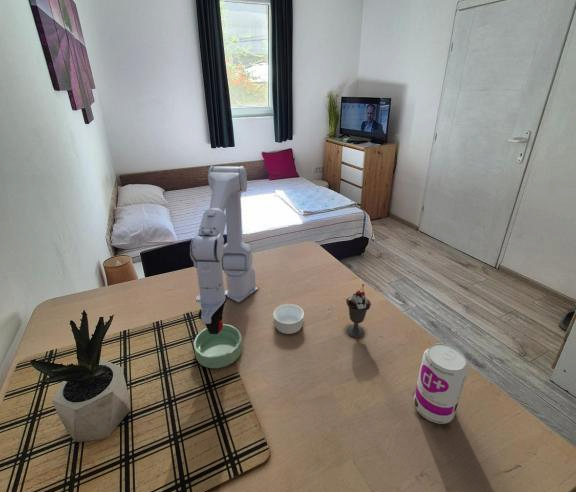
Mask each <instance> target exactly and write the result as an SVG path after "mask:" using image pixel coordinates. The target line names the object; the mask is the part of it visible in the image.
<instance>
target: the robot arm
mask: <svg viewBox="0 0 576 492" xmlns="http://www.w3.org/2000/svg"><path fill="white" fill-rule="evenodd" d="M207 182H208V185H209V188H210V190H211V197H210V202H209V209H206V210H205V211H204V212H203V214H202V217H201V221H200V224H199V228H198V232H197V235H196V236H195V237H193V238H192V239H191V242H190V246H189V256H190V259H191V261H192V262H193V267H194V268H195V269H196V273H197V274H196V275H197V282H198V289H199V290H198V291H199V294H198V295H197V296H196V298H195V302H196V303H199V304H200V309H199V311H198V314H197V315H198V319H199V320H200V321H201V325H202V324H203V325H205V328H207V329H208V331H209V333H210V334H218V332H219V324H220V320H221V321H222V322H223V316H224V308H225V305H226V303H227V301H228V298H229V299H231V300H233V301H235V302H236V303H241V302H242V301H244V300H245V299H246V298H247V297H249V296H250V295H252V294H253V293H254V292H256V291H257V290H258V287H257V285H256V271H255V268H254V267H253V253H252V247H251V246H250V245H249V244H248V243H246V242H244V241H243V228H242V227H243V226H242V203H241V197H242V193H245V192H247V190H248V177H247V169H246V168H245V166H243V165H241V166H226V165H225V166H215V165H211V166H210V167H209V168H208V171H207ZM225 229H226V243H225V238H224V235H225ZM224 274H225V277H226V280H225V281H226V290H225V287H224Z"/></svg>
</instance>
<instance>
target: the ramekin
mask: <svg viewBox="0 0 576 492" xmlns="http://www.w3.org/2000/svg"><path fill="white" fill-rule="evenodd" d="M272 316H273V319H274V325H275V328H276V330H277V331H278V332H280V333H282V334H284V335H285V334H287V335H292V334H295V333H298V332H299V331H300V330H301V329H302V326H303V323H304V317H305V312H304V310H303V309H302V307H300V306H298V305H297V304H292V303H285V304H281V305H279V306H277V307H276V308H275V309H274V311H273V314H272Z"/></svg>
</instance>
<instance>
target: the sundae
mask: <svg viewBox="0 0 576 492" xmlns="http://www.w3.org/2000/svg"><path fill="white" fill-rule="evenodd" d="M364 286H365V284H364V283H363V284H361V288H360V290H356V292H354V293H352V295H351V296H350V297H347V298H346V300H345V302H346V303H345V304H346V306H347V307H348V316H349V319H350V321H351V322H352V323H353V324H352V325H349V326H348V327H347V328H346V333H347V335H348V336H350V337H352V338H357V339H358V338H362V337H363V336H364V335H365V331H364V328H363V327H361V326H359V324H361V323H363V322H364V321H365V318H366V315H367V311H368V310H370V308H371V305H372V302H371V301H370V300H369V299H368V297H367V296H366V293H365V291H364V290H365V289H363V288H364ZM361 290H362V291H361Z"/></svg>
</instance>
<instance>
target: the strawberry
mask: <svg viewBox="0 0 576 492" xmlns="http://www.w3.org/2000/svg"><path fill="white" fill-rule="evenodd" d="M223 324H224V323H223V320H222V321H221V320H220V324H219V332H220V331H221V330H222V328H223ZM219 332H218V333H219Z"/></svg>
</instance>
